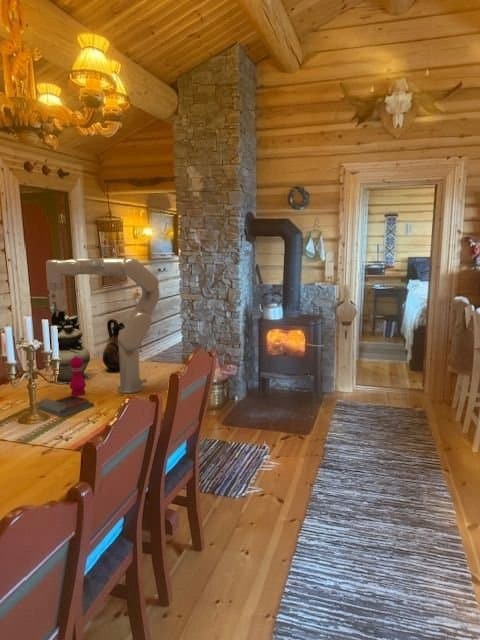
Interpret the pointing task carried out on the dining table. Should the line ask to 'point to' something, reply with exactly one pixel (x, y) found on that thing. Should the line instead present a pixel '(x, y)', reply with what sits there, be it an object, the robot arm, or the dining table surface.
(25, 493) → the dining table surface
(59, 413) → the dark slab
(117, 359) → the ceramic jug
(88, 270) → the robot arm
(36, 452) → the dining table surface
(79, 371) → the pepper mill
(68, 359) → the decorative urn
